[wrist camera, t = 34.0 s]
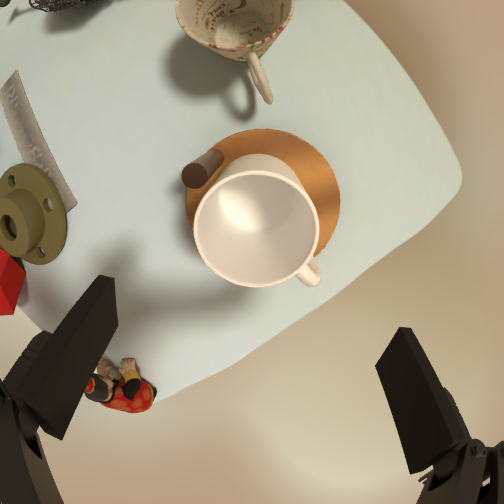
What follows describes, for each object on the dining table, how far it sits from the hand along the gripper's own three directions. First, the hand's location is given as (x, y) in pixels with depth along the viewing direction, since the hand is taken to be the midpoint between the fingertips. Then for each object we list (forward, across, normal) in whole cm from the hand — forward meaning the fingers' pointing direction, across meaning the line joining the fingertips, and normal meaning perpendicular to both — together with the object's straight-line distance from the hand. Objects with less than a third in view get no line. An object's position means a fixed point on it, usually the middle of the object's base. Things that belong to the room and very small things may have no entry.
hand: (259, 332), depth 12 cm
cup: (+18, +1, 0) cm, 18 cm away
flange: (+18, -24, -4) cm, 31 cm away
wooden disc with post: (+19, 0, 0) cm, 19 cm away
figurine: (+20, -14, -38) cm, 45 cm away
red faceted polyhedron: (+18, -42, -24) cm, 52 cm away
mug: (+21, -4, +15) cm, 26 cm away
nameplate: (+21, -29, +5) cm, 36 cm away
